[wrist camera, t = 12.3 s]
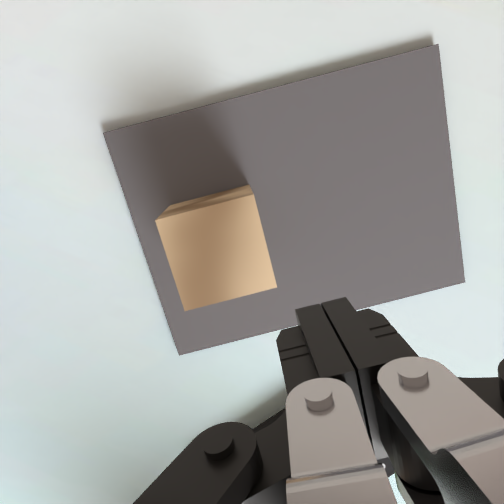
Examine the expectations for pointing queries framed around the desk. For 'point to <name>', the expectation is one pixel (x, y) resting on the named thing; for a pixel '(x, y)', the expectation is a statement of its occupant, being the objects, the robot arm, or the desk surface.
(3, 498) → the desk surface
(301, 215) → the rubber mat
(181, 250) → the oak cube
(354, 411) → the robot arm
